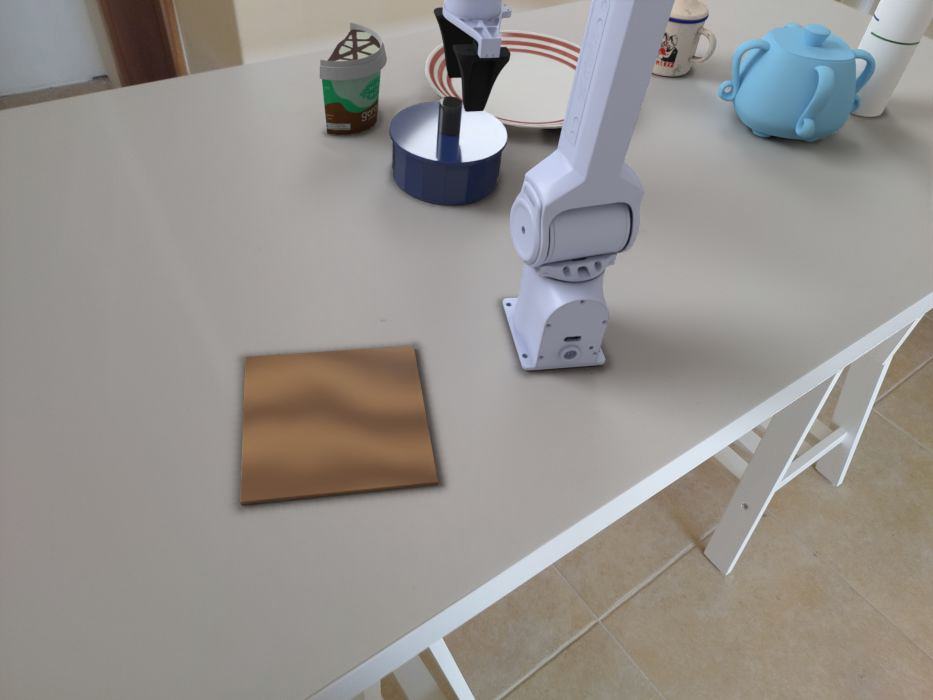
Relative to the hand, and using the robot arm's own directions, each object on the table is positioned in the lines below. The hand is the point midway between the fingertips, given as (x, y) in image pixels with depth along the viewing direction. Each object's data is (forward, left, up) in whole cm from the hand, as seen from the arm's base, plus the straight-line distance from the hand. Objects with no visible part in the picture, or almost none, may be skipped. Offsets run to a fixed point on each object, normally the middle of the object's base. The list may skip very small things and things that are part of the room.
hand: (465, 92), depth 82 cm
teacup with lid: (+28, -38, -10) cm, 49 cm away
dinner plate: (+20, -12, -10) cm, 26 cm away
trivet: (-36, +17, -10) cm, 41 cm away
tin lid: (0, +2, -5) cm, 5 cm away
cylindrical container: (+16, -64, -10) cm, 67 cm away
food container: (+13, +11, -10) cm, 20 cm away
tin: (0, +2, -10) cm, 10 cm away
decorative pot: (+11, -48, -10) cm, 51 cm away
